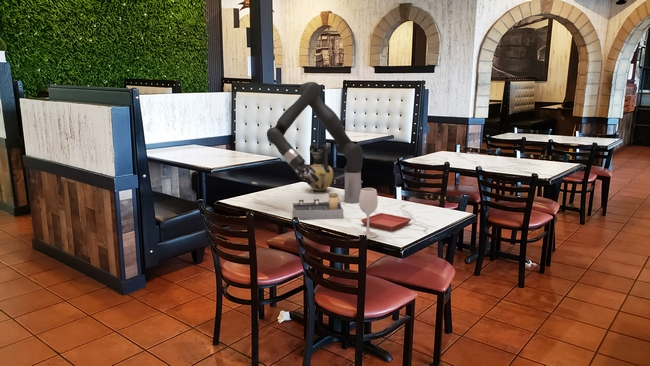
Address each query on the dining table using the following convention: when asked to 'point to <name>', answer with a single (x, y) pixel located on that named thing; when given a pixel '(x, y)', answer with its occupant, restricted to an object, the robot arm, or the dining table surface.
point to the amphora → (320, 168)
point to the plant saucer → (386, 221)
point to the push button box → (316, 210)
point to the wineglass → (368, 207)
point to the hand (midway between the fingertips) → (314, 182)
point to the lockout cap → (333, 201)
